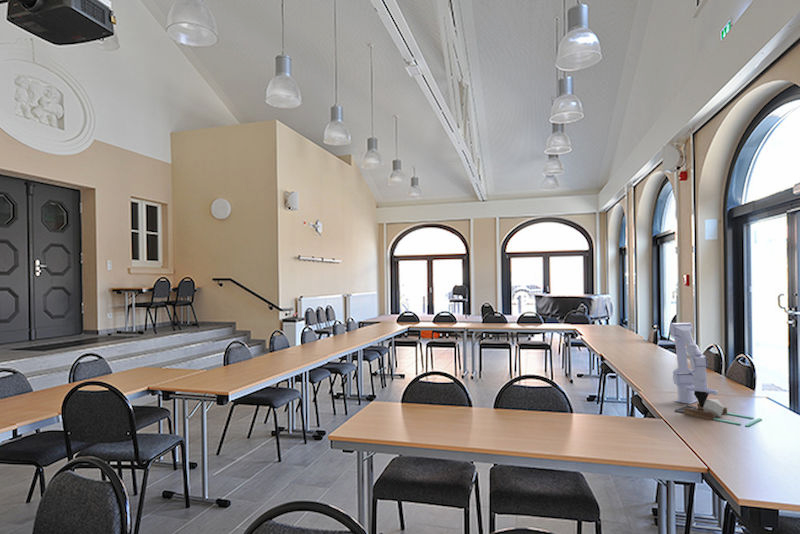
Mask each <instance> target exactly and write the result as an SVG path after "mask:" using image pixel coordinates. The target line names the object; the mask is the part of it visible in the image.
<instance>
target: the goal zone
mask: <svg viewBox="0 0 800 534" xmlns="http://www.w3.org/2000/svg"><path fill="white" fill-rule="evenodd" d="M725 415H727V416H732V417H733V416H734V417H739V418H744V419H750V420H752V421H750V422H749V423H746V424H745V426H744V427H747V428H749V427H751V426H753V425H754V424H757V423H759V422H761V421H762V419H763V418H756V419H754V417H753V416H749V415H743V414H737V413H732V412H727V413H726V414H725ZM753 419H754V420H753ZM712 421H716V422H721V423H726V424H732V425H737V426H741V425H742V423H741V422H737V421H731V420H726V419H721V418H718V417H717V418H716V417H715V418H714V419H713V420H712Z"/></svg>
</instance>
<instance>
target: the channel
mask: <svg viewBox="0 0 800 534" xmlns="http://www.w3.org/2000/svg"><path fill="white" fill-rule="evenodd" d="M696 404H697V406H696V407H697V409H689V408H684V412H685V413H684V416H685V415H687V416H691V417H697V418H701V417H702V418H701V419H706V420H711V421H714V420H713V419H714V418H716V416H714V413H711V412H705V410H704V409H703V407H700V404H699V402H697V403H696ZM723 407H724V409H723V412H722V415H727V414H726V413H728V408H727V407H726V406H723ZM700 409H701V410H700Z"/></svg>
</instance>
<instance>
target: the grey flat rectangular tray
mask: <svg viewBox="0 0 800 534" xmlns="http://www.w3.org/2000/svg"><path fill="white" fill-rule="evenodd" d="M684 408H689V409H695V410H698V406H692V405H689V404H688V405H687V404H686V405H683V406H681V407H679V408H676V409H674V413H675V412H676V413H681V414H685V412H684Z"/></svg>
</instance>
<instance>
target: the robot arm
mask: <svg viewBox="0 0 800 534" xmlns="http://www.w3.org/2000/svg"><path fill="white" fill-rule="evenodd" d="M693 331H694V327H693V324H692V323H691V322H689V321H688V322H671V323H670V324H669V332H670V337H671V338H673V339H674V344H675V346H674V347H675V352H676V361H677V362H676V363H677V367H676V368H675V369H674V370H673V371H672V380H673V384H675V385H676V386H677V399H676V400H674V401H675V402H676V403H683V404H686V405H687V404H688V405H691V404H694V403H696V402H697V403H699V404H700V407H703V406H704V403H705V400H706V399H708V396H709V395H714V396H718V395H719V391H718V390H717V389H713V388H708V376H707V367H708V366H709V365H708V363H709V362H708V358H707V356H706V355H705V354H703V353H702V351H701V349H700V347H699V345H698V344H696V343H695V342H694V338H693ZM687 355H688V356H689V358H690V359H689V363H690V367H691V368H689V365H688V357H687Z"/></svg>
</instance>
